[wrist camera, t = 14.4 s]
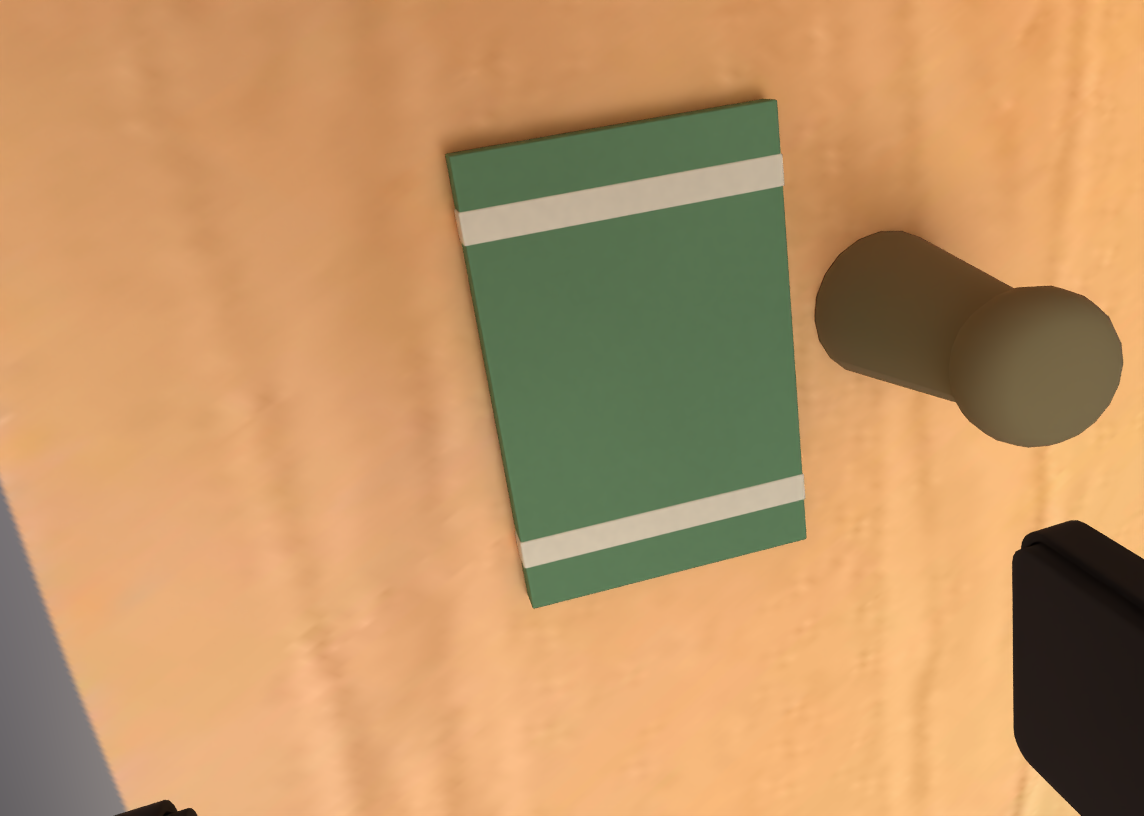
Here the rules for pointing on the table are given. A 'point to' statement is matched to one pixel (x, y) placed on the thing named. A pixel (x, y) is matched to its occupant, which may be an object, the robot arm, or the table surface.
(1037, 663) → the robot arm
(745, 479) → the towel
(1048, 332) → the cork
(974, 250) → the table surface
